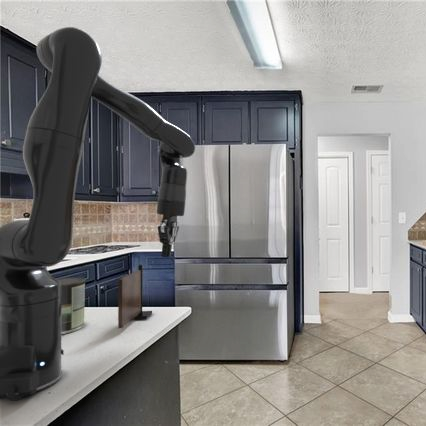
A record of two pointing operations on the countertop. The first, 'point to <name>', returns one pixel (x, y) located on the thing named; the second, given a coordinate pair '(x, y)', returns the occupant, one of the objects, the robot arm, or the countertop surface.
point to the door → (129, 298)
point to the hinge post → (143, 314)
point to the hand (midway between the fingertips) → (166, 256)
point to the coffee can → (72, 304)
